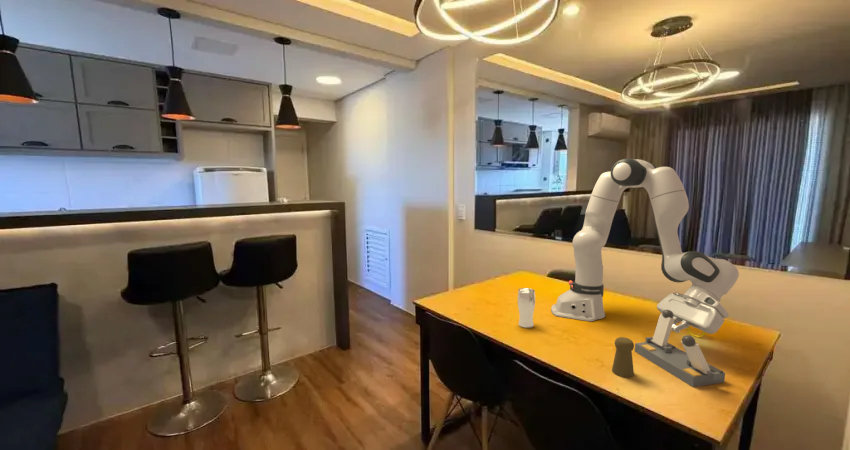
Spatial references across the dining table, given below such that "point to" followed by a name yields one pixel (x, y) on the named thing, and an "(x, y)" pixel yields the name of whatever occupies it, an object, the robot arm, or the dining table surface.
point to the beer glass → (526, 307)
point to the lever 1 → (663, 329)
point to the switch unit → (678, 364)
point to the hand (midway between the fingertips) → (672, 330)
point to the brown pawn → (623, 358)
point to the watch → (694, 334)
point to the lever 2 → (695, 354)
